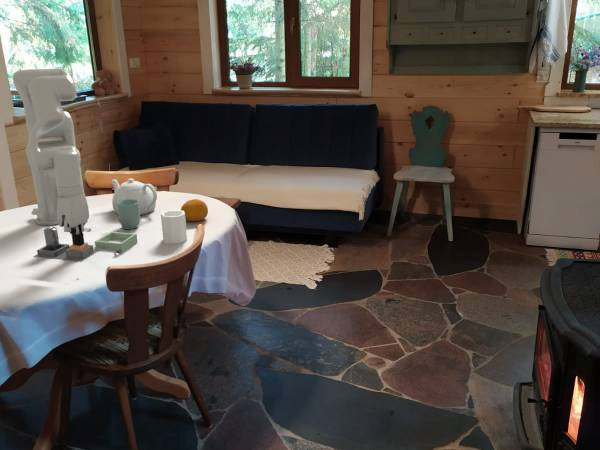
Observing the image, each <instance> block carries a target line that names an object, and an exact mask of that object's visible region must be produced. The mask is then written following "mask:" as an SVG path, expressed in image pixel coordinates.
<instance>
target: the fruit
mask: <svg viewBox="0 0 600 450" xmlns="http://www.w3.org/2000/svg"><path fill="white" fill-rule="evenodd" d="M180 210H181V211H184V212H185V219H186V222H187V221H188V222H200V221H202V220H204V219H206V218H207V216H208V213H209V209H208V205H207V203H205V201H203V200H201V199H198V198H197V199H196V198H194V199H193V198H192V199H190V200H189V199H188V200H187V201H186V202H184V204H182V206H181V207H180Z"/></svg>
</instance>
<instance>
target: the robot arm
mask: <svg viewBox="0 0 600 450" xmlns="http://www.w3.org/2000/svg"><path fill="white" fill-rule="evenodd" d="M12 81H13V85H14V88H15V90H16V91H17V93H18V94H19V96H20V98H21V101H22V103H23V111H24V118H25V125H26V129H27V133H28V140H27V145H26V147H25V154H26V157H27V158H26V159H27V161H28V164H29V167H30V172H31V175H32V179H33V182H32V183H33V187H34V192H35V193H34V194H35V198H36V204H37V208H34V207H33V209H32V210H31V215H35V216H36V217H35V223H36V224H37V225H41V226H53V225H54V226H55V225H58V226H59V228H60V227H61V228H63V232H64V233H69V234H70V235H71V239H72V240H71V242H72V244H73V245H79V246H81V245H82V244H84V242H85V238H84V232H85V231H84V228H85V225H86V224H87V223H88V220H89V219H90V211H89V205H88V200H87V197H86V194H85V191H84V182H83V175H82V168H81V161H82V160H81V159H82V158H81V152H80V150H79V149H78V148H77V145H76V137H75V127H74V126H75V125H74V122H73V118H72V116H71V114H70V113H69V112H68V111H66V110H63V107H62V103H61V102H70V101H71V102H72V101H74V100H75V99H76V98H77V86H76V84H75V82H74V79H73V78H72V76H71V75H70V74H69V73H68V72H67V71H66V70H65V69H63V68H38V69H37V68H36V69H35V68H34V69H21V70H17V71H15V72H14V73H13V75H12ZM58 137H59V138H58ZM49 138H50V139H49Z"/></svg>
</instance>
